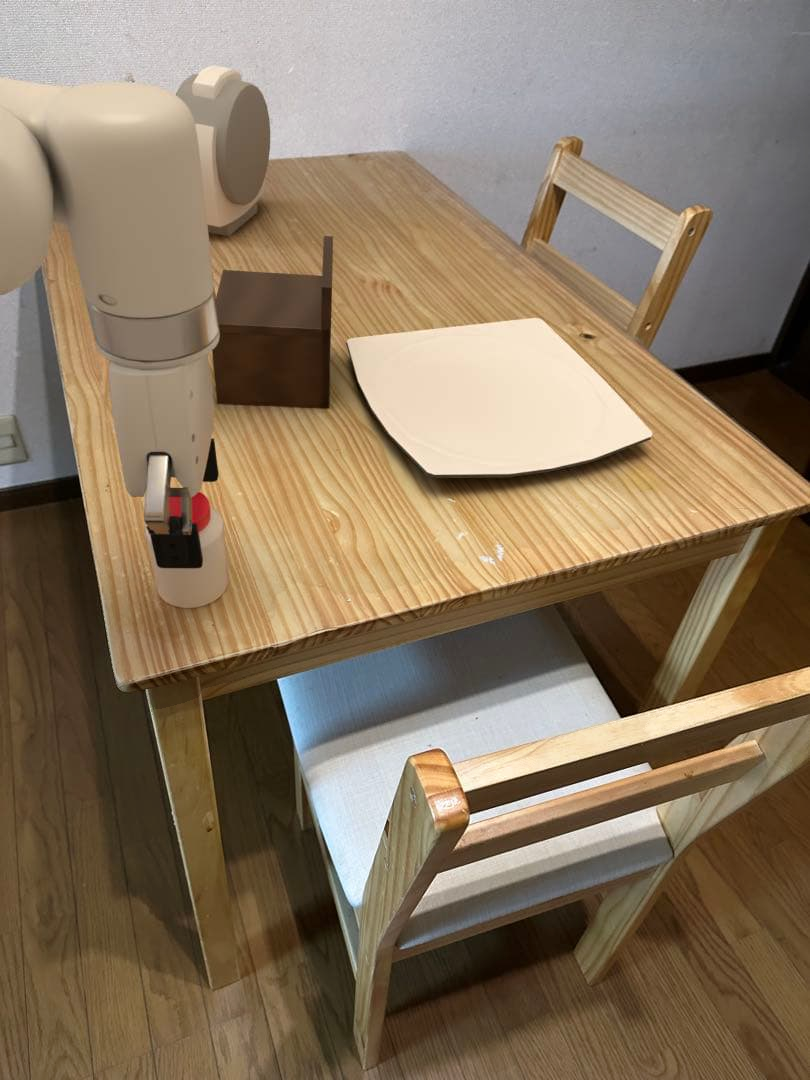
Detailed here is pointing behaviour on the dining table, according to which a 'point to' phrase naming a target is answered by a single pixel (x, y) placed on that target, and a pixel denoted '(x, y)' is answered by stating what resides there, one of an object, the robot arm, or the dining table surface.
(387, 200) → the dining table surface
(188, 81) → the alarm clock
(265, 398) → the wooden block chair
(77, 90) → the robot arm
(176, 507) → the pill bottle
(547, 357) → the plate
